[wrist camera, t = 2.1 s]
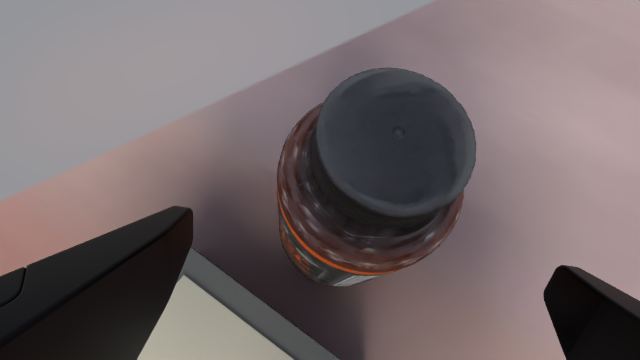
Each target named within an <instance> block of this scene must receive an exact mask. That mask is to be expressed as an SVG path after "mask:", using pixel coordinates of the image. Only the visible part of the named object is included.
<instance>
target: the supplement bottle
mask: <svg viewBox="0 0 640 360" xmlns="http://www.w3.org/2000/svg"><path fill="white" fill-rule="evenodd" d="M475 161H476V141H475V133H474V130H473V127H472V123H471V121H470V119H469V117H468V115H467V113H466V111H465V109H464V108H463V106H462V105H461V104H460V103H459V102H458V101H457V100H456V98H455V97H454V96H453V95H452V94H451V93H450V92H449V91H448V90H447V89H445V88H444V87H443V86H442V85H440V84H439V83H436V82H435V81H433V80H432V79H430V78H427V77H425V76H424V75H422V74H419V73H415V72H411V71H408V70H404V69H398V68H379V69H371V70H368V71H364V72H361V73H358V74H356V75H354V76H351V77H349V78H348V79H347V80H345V81H343V82H342V83H341V84H339V86H337V87H336V88H335V89H334V90H333V91H332V92H331V93H330V95H329V96H328V97H327V98H326V100H325V102H324V103H321V104H319V105H318V106H316V107H315V108H313V109H312V110H310V111H309V112H308V113H307V114H306V115H305V116H304V117H303V118H302V119H301V120H300V121H299V122H298V123H297V124H296V125H295V127H294V128H293V129H292V131H291V132H290V134H289V135H288V137H287V139H286V141H285V144H284V146H283V150H282V152H281V156H280V160H279V164H278V171H277V199H278V210H279V230H280V236H281V241H282V246H283V248H284V250H285V252H286V254H287V256H288V258H289V259H290V260H291V262H292V263H293V264H294V266H295V267H296V268H297V269H298V270H299V271H300V272H302V273H303V274H304V275H305V276H307V277H308V278H310V279H312V280H314V281H315V282H318V283H321V284H324V285H330V286H350V285H355V284H359V283H362V282H365V281H368V280H371V279H374V278H377V277H380V276H382V275H385V274H389V273H392V272H395V271H397V270H400V269H402V268H405V267H408V266H410V265H413V264H415V263H416V262H418V261H420V260H422V259H423V258H425V257H426V256H428V255H429V254H431V253H432V252H433V251H434V250H435V249H436V248H437V247H439V246H440V244H441V243H442V242H443V241H444V240H445V239H446V237H447V236H448V235H449V233H450V232H451V230H452V229H453V227H454V225H455V223H456V221H457V220H458V218H459V214H460V210H461V207H462V201H463V198H464V187H465V186H466V184H467V183H468V181H469V179H470V178H471V174H472V171H473V168H474V165H475Z"/></svg>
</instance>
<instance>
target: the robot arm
mask: <svg viewBox="0 0 640 360" xmlns="http://www.w3.org/2000/svg"><path fill="white" fill-rule="evenodd" d="M192 240H193V211H192V209H191V208H187V207H180V206H173V207H170V208H168V209H165V210H163V211H160V212H158V213H155V214H153V215H150V216H148V217H145V218H143V219H140V220H138V221H136V222H133V223H131V224H128V225H126V226H123V227H121V228H118V229H116V230H113V231H111V232H108V233H106V234H104V235H101V236H99V237H96V238H94V239H91V240H89V241H86V242H84V243H81V244H79V245H76V246H74V247H71V248H69V249H67V250H64V251H62V252H59V253H57V254H54V255H52V256H49V257H47V258H44V259H42V260H39V261H37V262H34V263H32V264H30V265H28V266H27V267H26V268H24V267H22V268H19V269H17V270H15V271H12V272H10V273H7V274H5V275H2V276H0V360H137V359H138V357H139V355H140V353H141V351H142V350H143V348H144V346H145V344H146V342H147V340H148V339H149V337H150V335H151V333H152V331H153V330H154V328H155V326H156V324H157V322H158V320H159V319H160V317H161V315H162V313H163V311H164V310H165V308H166V306H167V304H168V302H169V300H170V297H171V295H172V293H173V290H174V288H175V285H176V283H177V280H178V278H179V275H180V273H181V270H182V268H183V265H184V263H185V260H186V258H187V255H188V253H189V250H190V248H191V245H192ZM544 301H545V304H546V307H547V309H548V312H549V315H550V318H551V320H552V323H553V326H554V328H555V331H556V334H557V336H558V339H559V342H560V344H561V347H562V350H563V352H564V355H565V357H566V360H640V301H639V300H637V299H635V298H633V297H631V296H630V295H628V294H626V293H624V292H622V291H621V290H619V289H617V288H615V287H613V286H611V285H610V284H608V283H606V282H604V281H602V280H601V279H599V278H597V277H595V276H593V275H591V274H590V273H588V272H586V271H584V270H582V269H581V268H578V267H573V266H566V265H561V266H559V267H557V268H556V270H555V271H554V273H553V275H552V277H551V279H550V281H549V282H548V284H547V286H546V288H545V290H544Z"/></svg>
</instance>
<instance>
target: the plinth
mask: <svg viewBox="0 0 640 360" xmlns="http://www.w3.org/2000/svg"><path fill="white" fill-rule="evenodd" d="M137 360H340V359H339V358H338V357H337V356H335V355H334V354H333V353H331V352H330V351H329V350H327V349H326V348H325V347H323V346H322V345H321V344H319V343H318V342H317V341H315V340H314V339H313V338H311V337H310V336H309V335H307V334H306V333H305V332H303V331H302V330H301V329H299V328H298V327H297V326H295V325H294V324H293V323H291V322H290V321H289V320H287V319H286V318H285V317H283V316H282V315H281V314H279V313H278V312H277V311H276V310H274V309H273V308H272V307H270V306H269V305H268V304H266V303H265V302H264V301H262V300H261V299H260V298H258V297H257V296H256V295H254V294H253V293H252V292H250V291H249V290H248V289H246V288H245V287H244V286H242V285H241V284H240V283H238V282H237V281H236V280H234V279H233V278H232V277H230V276H229V275H228V274H226V273H225V272H224V271H222V270H221V269H220V268H218V267H217V266H216V265H215V264H213V263H212V262H211V261H209V260H208V259H207V258H205V257H204V256H203V255H201V254H200V253H199V252H197V251H196V250H194V249H193V248H190V250H189V253H188V255H187V258H186V260H185V263H184V265H183V268H182V270H181V273H180V275H179V278H178V280H177V283H176V285H175V288H174V290H173V293H172V295H171V297H170V300H169V302H168V304H167V306H166V308H165V310H164V311H163V313H162V315H161V317H160V319H159V320H158V322H157V324H156V326H155V328H154V330H153V331H152V333H151V335H150V337H149V339H148V340H147V342H146V344H145V346H144V348H143V350H142V351H141V353H140V355H139V357H138V359H137Z"/></svg>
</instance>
